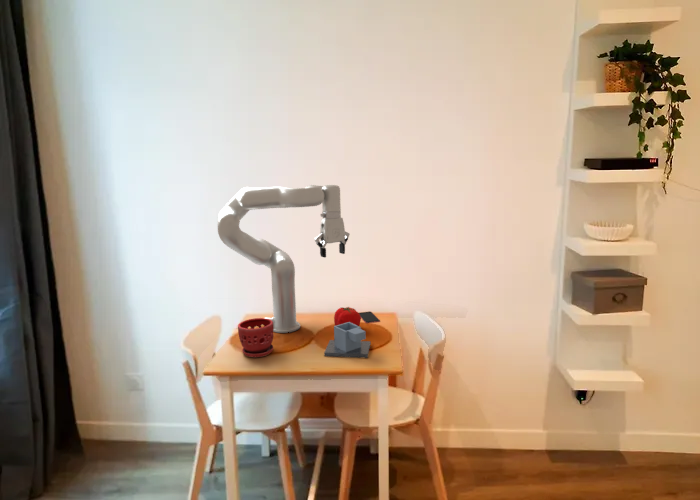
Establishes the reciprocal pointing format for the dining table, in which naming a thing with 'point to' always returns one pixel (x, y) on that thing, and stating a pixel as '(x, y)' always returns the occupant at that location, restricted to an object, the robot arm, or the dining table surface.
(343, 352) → the duct base
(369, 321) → the smartphone
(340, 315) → the tomato
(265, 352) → the plant pot
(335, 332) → the elbow
